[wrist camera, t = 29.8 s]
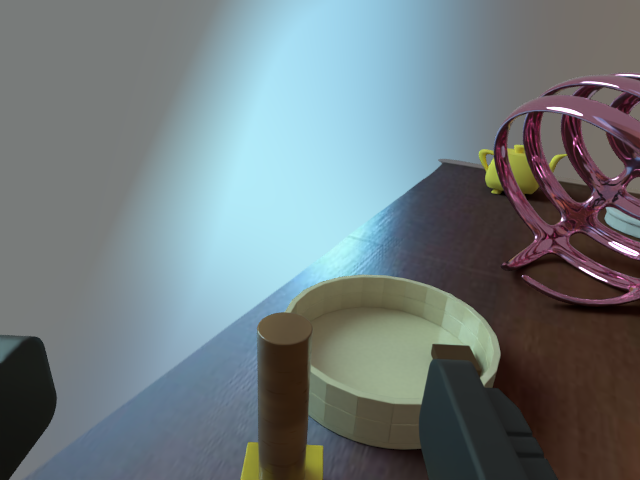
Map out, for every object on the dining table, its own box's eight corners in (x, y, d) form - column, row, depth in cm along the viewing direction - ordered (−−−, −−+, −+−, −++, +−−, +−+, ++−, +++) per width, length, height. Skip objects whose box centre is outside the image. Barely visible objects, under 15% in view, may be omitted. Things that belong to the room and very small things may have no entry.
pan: (249, 417, 34) (249, 372, 32) (310, 297, 51) (312, 264, 49) (504, 477, 30) (519, 430, 28) (477, 326, 47) (485, 290, 45)
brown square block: (439, 379, 38) (441, 368, 38) (430, 353, 41) (432, 343, 41) (479, 381, 38) (482, 370, 38) (467, 355, 41) (469, 345, 41)
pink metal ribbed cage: (536, 161, 35) (779, -22, 37) (403, 163, 62) (547, 58, 64) (658, 397, 42) (857, 234, 44) (491, 307, 69) (618, 208, 71)
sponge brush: (234, 550, 25) (224, 356, 19) (248, 473, 29) (244, 298, 24) (319, 554, 25) (335, 362, 19) (321, 476, 29) (333, 303, 24)
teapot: (556, 194, 99) (569, 147, 94) (555, 206, 90) (570, 156, 85) (476, 180, 106) (485, 137, 102) (468, 191, 97) (477, 143, 93)
